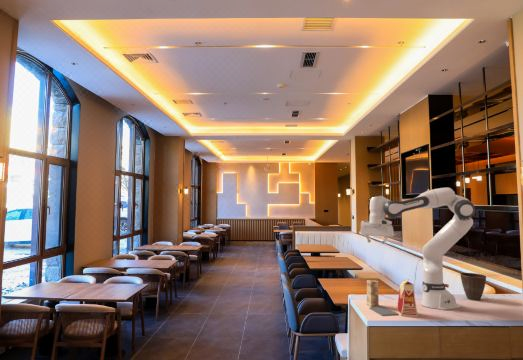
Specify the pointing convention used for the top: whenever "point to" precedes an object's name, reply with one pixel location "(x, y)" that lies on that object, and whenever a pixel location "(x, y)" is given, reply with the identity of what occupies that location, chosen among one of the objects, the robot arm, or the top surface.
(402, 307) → the red figurine
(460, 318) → the top surface
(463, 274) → the plant pot
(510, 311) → the top surface
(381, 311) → the mat
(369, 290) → the block
